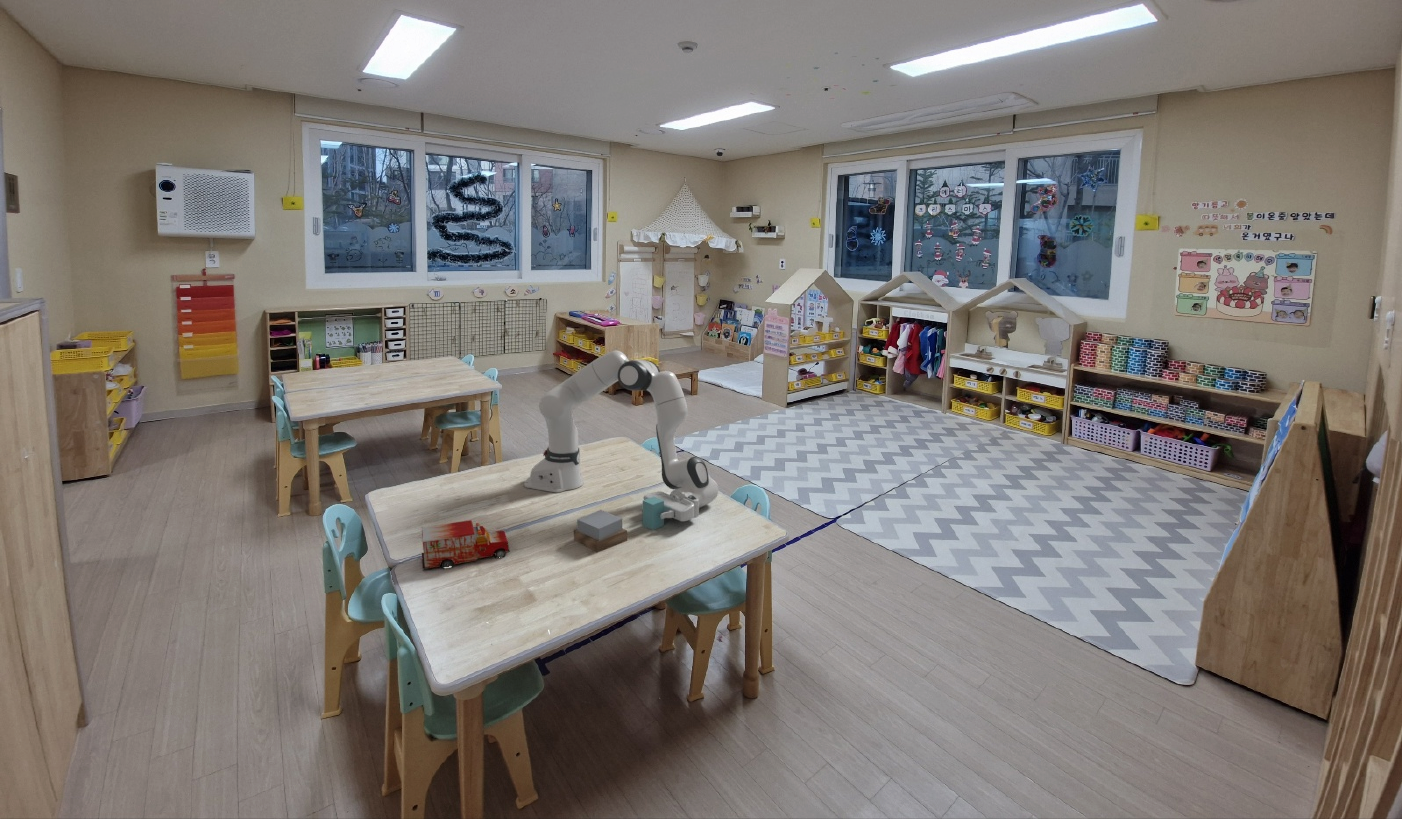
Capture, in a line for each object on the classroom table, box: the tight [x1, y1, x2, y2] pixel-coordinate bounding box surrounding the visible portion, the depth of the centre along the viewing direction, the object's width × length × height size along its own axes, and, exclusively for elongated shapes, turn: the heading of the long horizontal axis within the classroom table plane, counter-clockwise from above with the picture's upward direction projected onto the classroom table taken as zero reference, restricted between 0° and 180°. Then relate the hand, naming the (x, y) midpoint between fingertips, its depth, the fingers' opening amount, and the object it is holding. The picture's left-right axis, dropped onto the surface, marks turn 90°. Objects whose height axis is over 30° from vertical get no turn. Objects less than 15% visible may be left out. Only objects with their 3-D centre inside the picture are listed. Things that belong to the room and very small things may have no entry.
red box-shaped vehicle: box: [421, 519, 510, 570], centre depth 199 cm, size 11×25×10 cm, turn 113°
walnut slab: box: [573, 527, 628, 553], centre depth 212 cm, size 12×12×4 cm
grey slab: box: [576, 509, 624, 541], centre depth 211 cm, size 10×10×4 cm
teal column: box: [642, 497, 665, 531], centre depth 222 cm, size 5×5×9 cm
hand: (651, 512), depth 222 cm, fingers open, 7 cm apart
